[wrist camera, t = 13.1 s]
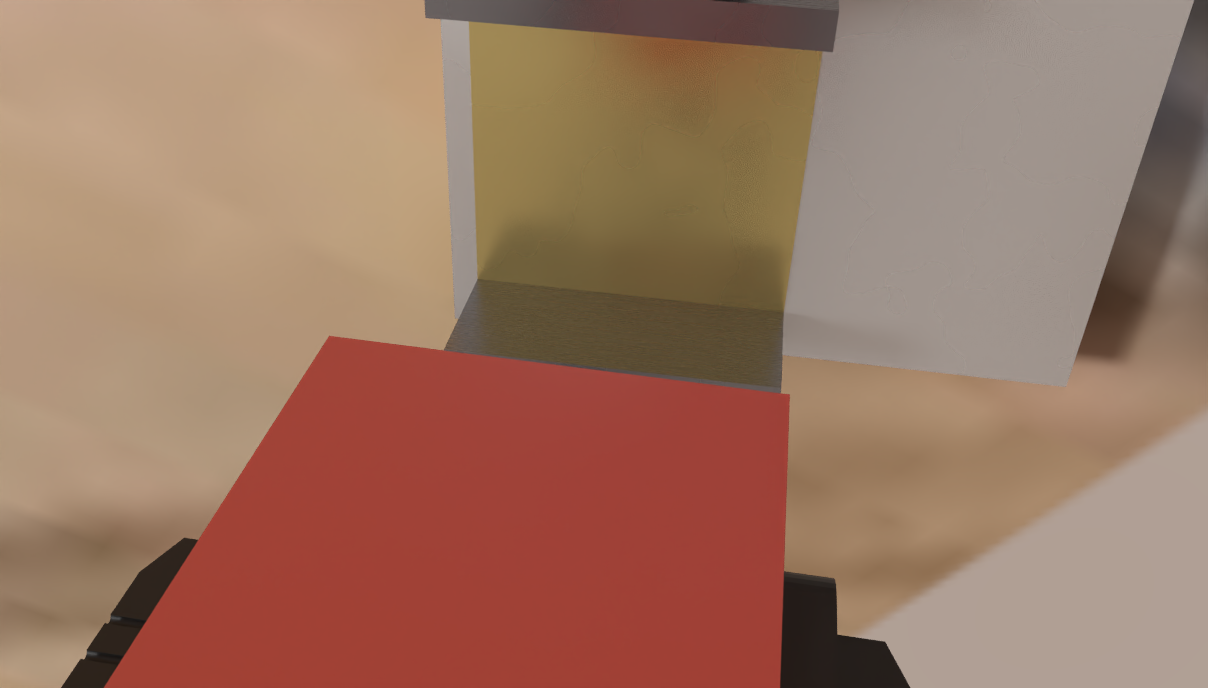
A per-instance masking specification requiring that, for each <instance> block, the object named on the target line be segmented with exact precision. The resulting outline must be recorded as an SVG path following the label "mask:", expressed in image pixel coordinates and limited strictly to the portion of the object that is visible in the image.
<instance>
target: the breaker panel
mask: <svg viewBox="0 0 1208 688" xmlns="http://www.w3.org/2000/svg"><path fill="white" fill-rule="evenodd" d="M1193 2H1194V0H425V15H426V18H433V19H441V37H442V57H443V78H444V99H445V119H446V140H447V161H448V182H449V202H450V223H451V244H452V264H453V285H454V306H455V318H458V321H457V323H456V326H455V328H454V330H453V332H452V334H451V336H450V338H449V340H448V342H447V344H446V347H445V349H444V351H451V352H459V353H467V354H475V355H483V356H490V357H498V358H506V359H514V360H522V361H530V362H538V363H545V364H553V365H561V366H569V367H577V368H585V369H592V370H600V371H608V372H616V373H624V374H632V375H640V376H647V377H655V378H663V379H671V380H679V381H687V382H695V383H702V384H710V385H718V386H726V387H734V388H742V389H749V390H757V391H765V392H773V393H781V380H782V355H787V356H796V357H805V358H813V359H822V360H831V361H840V362H849V363H858V364H867V365H876V366H885V367H893V368H902V369H911V370H920V371H929V372H938V373H947V374H956V375H965V376H973V377H982V378H991V379H1000V380H1009V381H1018V382H1027V383H1036V384H1045V385H1053V386H1062V387H1066V385H1067V382H1068V379H1069V376H1070V373H1071V370H1072V367H1073V364H1074V361H1075V358H1076V355H1077V352H1078V349H1079V346H1080V343H1081V340H1082V337H1083V334H1084V331H1085V328H1086V325H1087V322H1088V319H1089V316H1090V313H1091V310H1092V307H1093V304H1094V301H1095V298H1096V295H1097V292H1098V289H1099V286H1100V283H1101V280H1102V277H1103V274H1104V271H1105V267H1106V264H1107V261H1108V258H1109V255H1110V252H1111V249H1112V246H1113V243H1114V240H1115V237H1116V234H1117V231H1118V228H1119V225H1120V222H1121V219H1122V216H1123V213H1124V210H1125V207H1126V204H1127V201H1128V198H1129V195H1130V192H1131V189H1132V186H1133V183H1134V180H1135V177H1136V174H1137V171H1138V168H1139V165H1140V162H1141V159H1142V156H1143V153H1144V150H1145V147H1146V144H1147V141H1148V138H1149V135H1150V132H1151V129H1152V126H1153V123H1154V120H1155V117H1156V114H1157V111H1158V108H1159V105H1160V102H1161V99H1162V96H1163V93H1164V90H1165V87H1166V84H1167V81H1168V78H1169V75H1170V72H1171V69H1172V66H1173V63H1174V60H1175V57H1176V54H1177V51H1178V48H1179V44H1180V41H1181V38H1182V35H1183V32H1184V29H1185V26H1186V23H1187V20H1188V17H1189V14H1190V11H1191V8H1192V5H1193Z"/></svg>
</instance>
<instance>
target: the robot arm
mask: <svg viewBox="0 0 1208 688" xmlns="http://www.w3.org/2000/svg"><path fill="white" fill-rule="evenodd" d="M197 541H198V540H195V539H188V538H183V539H182V540H181V541H179V542H178V543H177V544H176V545H174V546H173V547H172V548H170V549H169V550H168V551H166V552H165V553H164V554H163V555H161V556H160V557H159V558H157V559H156V560H155V561H153V562H152V563H151V564H150V565H148V566H147V567H146V568H144V569H143V570H142V571H140V572H139V574H138V575H137V577H136V578H135V580H134V581H133V583H132V584H131V585H130V587H129V588H128V590H127V591H126V593H125V594H124V596H123V597H122V599H121V600H120V602H119V603H118V605H117V606H116V608H115V609H114V611H113V612H112V613H111V619H110V622H109V623H108V624H106V623H105V624H104V625H103V627H102V628H101V630H100V631H99V633H98V634H97V636H96V637H95V639H94V640H93V641H92V643H91V644H90V646H89V647H88V649H87V655H86V657H85V659H84V660H83V659H80V661H79V662H78V664H77V665H76V667H75V668H74V670H73V671H72V672H71V674H70V675H69V677H68V678H67V680H66V681H65V683H64V684H63V686H62V687H61V688H104V687H105V685H106V683H107V682H108V680H109V679H110V677H111V676H112V674H113V673H114V671H115V669H116V668H117V666H118V665H119V663H120V662H121V660H122V659H123V657H124V655H125V654H126V652H127V651H128V649H129V648H130V646H131V644H132V643H133V641H134V640H135V638H136V637H137V635H138V634H139V632H140V630H141V629H142V627H143V626H144V624H145V623H146V621H147V620H148V618H149V616H150V615H151V613H152V612H153V610H154V609H155V607H156V605H157V604H158V602H159V601H160V599H161V598H162V596H163V595H164V593H165V591H166V590H167V588H168V587H169V585H170V584H171V582H172V580H173V579H174V577H175V576H176V574H177V573H178V571H179V570H180V568H181V566H182V565H183V563H184V562H185V560H186V559H187V557H188V556H189V554H190V552H191V551H192V549H193V548H194V546H195V545H196V543H197ZM780 688H910V686H909V685H908V683H907V681H906V679H905V677H904V676H903V674H902V672H901V670H900V668H899V666H898V665H897V663H896V661H895V659H894V657H893V655H892V654H891V652H890V650H889V648H888V646H887V644H886V643H885V642H883V641H876V640H869V639H862V638H856V637H849V636H842V635H837V596H836V583H835V579H834V578H827V577H820V576H813V575H806V574H799V573H792V572H785V571H784V582H783V612H782V643H781V673H780Z"/></svg>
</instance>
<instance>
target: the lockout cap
mask: <svg viewBox="0 0 1208 688" xmlns="http://www.w3.org/2000/svg"><path fill="white" fill-rule="evenodd" d="M789 401H790V395H789V394H781V393H773V392H765V391H757V390H749V389H742V388H734V387H726V386H718V385H710V384H702V383H695V382H687V381H679V380H671V379H663V378H655V377H647V376H640V375H632V374H624V373H616V372H608V371H600V370H592V369H585V368H577V367H569V366H561V365H553V364H545V363H538V362H530V361H522V360H514V359H506V358H498V357H490V356H483V355H475V354H467V353H459V352H451V351H443V350H436V349H428V348H420V347H412V346H404V345H396V344H388V343H381V342H373V341H365V340H357V339H349V338H341V337H334V336H329V337H328V339H327V340H326V342H325V343H324V345H323V346H322V348H321V350H320V351H319V353H318V354H317V356H316V357H315V359H314V360H313V362H312V364H311V365H310V367H309V368H308V370H307V371H306V373H305V375H304V376H303V378H302V379H301V381H300V382H299V384H298V385H297V387H296V389H295V390H294V392H293V393H292V395H291V396H290V398H289V399H288V401H287V403H286V404H285V406H284V407H283V409H282V410H281V412H280V414H279V415H278V417H277V418H276V420H275V421H274V423H273V424H272V426H271V428H270V429H269V431H268V432H267V434H266V435H265V437H264V438H263V440H262V442H261V443H260V445H259V446H258V448H257V449H256V451H255V453H254V454H253V456H252V457H251V459H250V460H249V462H248V463H247V465H246V467H245V468H244V470H243V471H242V473H241V474H240V476H239V478H238V479H237V481H236V482H235V484H234V485H233V487H232V488H231V490H230V492H229V493H228V495H227V496H226V498H225V499H224V501H223V502H222V504H221V506H220V507H219V509H218V510H217V512H216V513H215V515H214V517H213V518H212V520H211V521H210V523H209V524H208V526H207V527H206V529H205V531H204V532H203V534H202V535H201V537H200V538H199V540H198V541H197V543H196V545H195V546H194V548H193V549H192V551H191V552H190V554H189V556H188V557H187V559H186V560H185V562H184V563H183V565H182V566H181V568H180V570H179V571H178V573H177V574H176V576H175V577H174V579H173V580H172V582H171V584H170V585H169V587H168V588H167V590H166V591H165V593H164V595H163V596H162V598H161V599H160V601H159V602H158V604H157V605H156V607H155V609H154V610H153V612H152V613H151V615H150V616H149V618H148V620H147V621H146V623H145V624H144V626H143V627H142V629H141V630H140V632H139V634H138V635H137V637H136V638H135V640H134V641H133V643H132V644H131V646H130V648H129V649H128V651H127V652H126V654H125V655H124V657H123V659H122V660H121V662H120V663H119V665H118V666H117V668H116V669H115V671H114V673H113V674H112V676H111V677H110V679H109V680H108V682H107V683H106V685H105V687H104V688H780V673H781V643H782V612H783V582H784V552H785V522H786V491H787V461H788V431H789Z"/></svg>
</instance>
